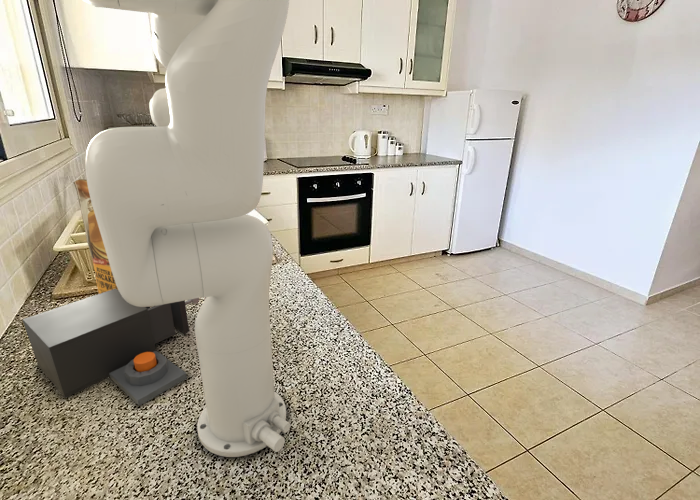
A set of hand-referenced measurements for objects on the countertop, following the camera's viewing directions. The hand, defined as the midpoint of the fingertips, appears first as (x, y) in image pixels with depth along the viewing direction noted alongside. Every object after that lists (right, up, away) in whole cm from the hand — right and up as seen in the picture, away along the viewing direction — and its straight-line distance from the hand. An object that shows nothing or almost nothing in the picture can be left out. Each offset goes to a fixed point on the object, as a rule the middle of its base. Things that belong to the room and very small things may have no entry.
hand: (201, 245), depth 80 cm
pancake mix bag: (-21, -13, +8) cm, 26 cm away
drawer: (-8, -17, -5) cm, 20 cm away
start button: (-2, -20, -17) cm, 27 cm away
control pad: (-3, -23, -16) cm, 28 cm away
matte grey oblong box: (-14, -21, -12) cm, 28 cm away
